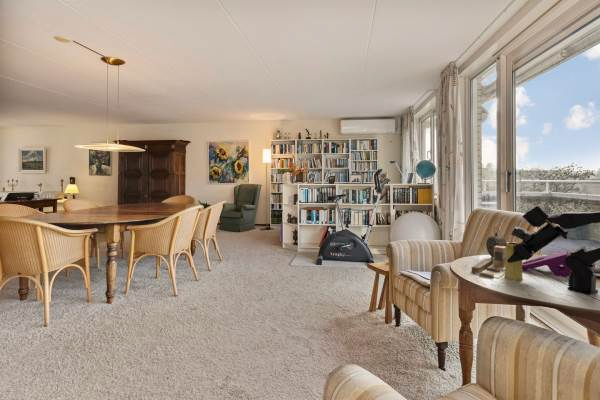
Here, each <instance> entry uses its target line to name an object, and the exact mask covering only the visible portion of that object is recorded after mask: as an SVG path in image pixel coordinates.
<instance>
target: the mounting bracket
mask: <svg viewBox="0 0 600 400" xmlns="http://www.w3.org/2000/svg"><path fill="white" fill-rule="evenodd" d="M569 253H570V252H569V251H568V250H567V249H565V250H561V251H557V252H554V253H550V254H547V255H543V256H539V257H535V258H532V259H531V258H530V259H528V260H524V261H522V271H527V270H533V269H536V268H540V267H543V266H546V267H547V268H548V269H549V271H550V273H551V274H553V275H554V276H555V277H561V278H569V275H570V273H571V272H572V270H571V269H570V268H569V267H568V266H567V265H566V264H565V259H566V257H567V256H568V254H569Z"/></svg>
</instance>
